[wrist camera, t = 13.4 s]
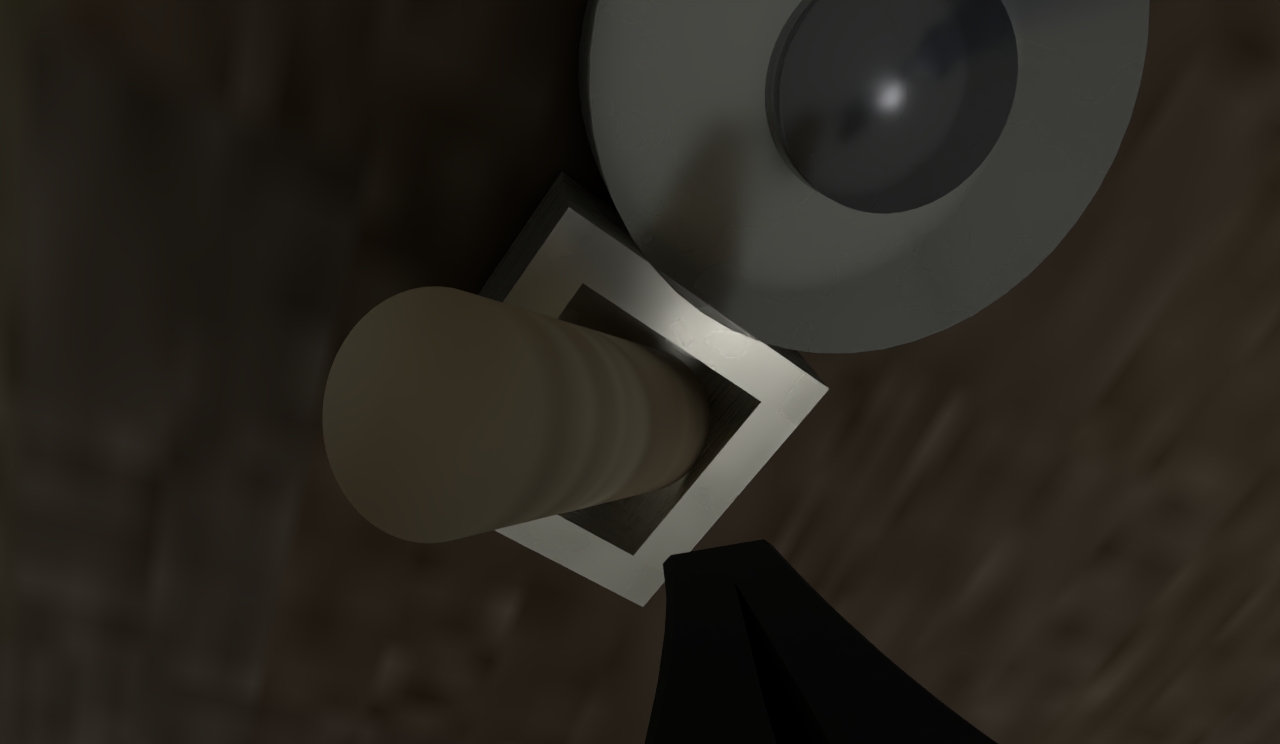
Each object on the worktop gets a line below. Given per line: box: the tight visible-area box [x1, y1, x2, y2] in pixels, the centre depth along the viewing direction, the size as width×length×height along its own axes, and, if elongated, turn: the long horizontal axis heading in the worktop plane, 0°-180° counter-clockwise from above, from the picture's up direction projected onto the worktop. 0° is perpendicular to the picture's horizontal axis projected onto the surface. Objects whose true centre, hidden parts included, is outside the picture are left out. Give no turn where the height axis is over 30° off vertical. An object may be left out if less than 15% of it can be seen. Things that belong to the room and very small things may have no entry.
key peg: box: [322, 286, 709, 543], centre depth 14 cm, size 3×3×8 cm
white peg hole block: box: [478, 0, 1150, 607], centre depth 16 cm, size 16×10×5 cm, turn 144°
